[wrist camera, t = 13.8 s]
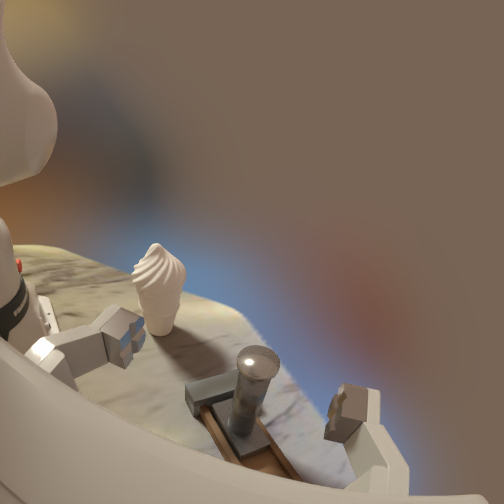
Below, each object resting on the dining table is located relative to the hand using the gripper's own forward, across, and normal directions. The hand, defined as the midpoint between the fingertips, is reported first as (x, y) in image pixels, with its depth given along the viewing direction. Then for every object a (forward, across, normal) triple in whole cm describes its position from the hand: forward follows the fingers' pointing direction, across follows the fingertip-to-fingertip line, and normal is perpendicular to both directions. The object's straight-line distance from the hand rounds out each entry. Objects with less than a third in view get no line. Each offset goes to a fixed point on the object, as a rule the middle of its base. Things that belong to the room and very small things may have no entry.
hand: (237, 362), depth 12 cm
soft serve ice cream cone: (+26, +18, +30) cm, 44 cm away
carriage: (+12, 0, +28) cm, 30 cm away
